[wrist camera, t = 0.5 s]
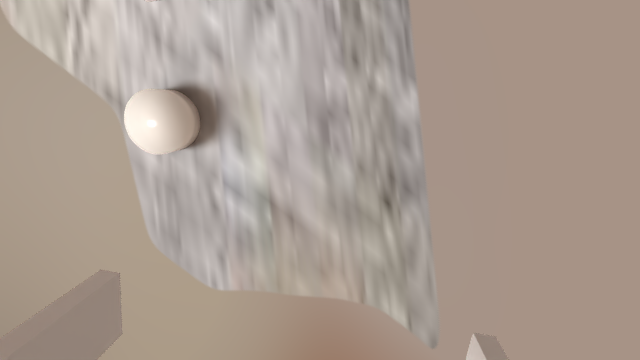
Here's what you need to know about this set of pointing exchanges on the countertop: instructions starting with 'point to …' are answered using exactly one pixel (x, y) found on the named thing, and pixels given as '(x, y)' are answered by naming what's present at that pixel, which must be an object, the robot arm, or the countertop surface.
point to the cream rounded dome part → (161, 120)
